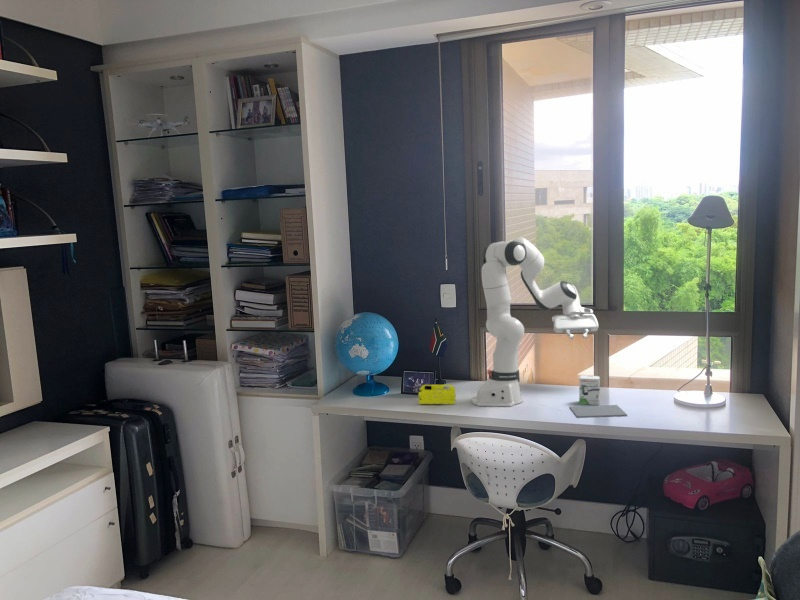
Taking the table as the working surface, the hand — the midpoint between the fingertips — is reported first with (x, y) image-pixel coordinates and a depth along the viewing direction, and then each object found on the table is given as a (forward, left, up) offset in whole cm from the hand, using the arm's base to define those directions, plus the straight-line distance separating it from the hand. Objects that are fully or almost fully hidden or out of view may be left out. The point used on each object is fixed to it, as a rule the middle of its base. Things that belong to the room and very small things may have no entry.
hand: (578, 338), depth 295 cm
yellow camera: (-66, -11, -26) cm, 72 cm away
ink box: (0, -18, -26) cm, 32 cm away
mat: (0, -31, -25) cm, 40 cm away
